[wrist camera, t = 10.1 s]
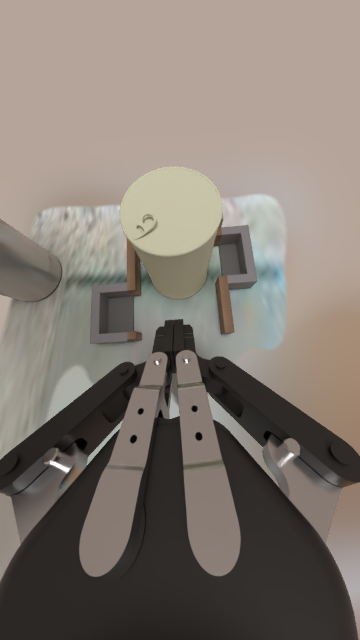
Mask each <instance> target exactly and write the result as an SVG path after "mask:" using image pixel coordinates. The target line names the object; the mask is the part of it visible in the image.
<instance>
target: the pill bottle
mask: <svg viewBox="0 0 360 640" xmlns="http://www.w3.org/2000/svg"><path fill="white" fill-rule="evenodd" d="M20 545H21V544H20V539H19V534H18V529H17V524H16V519H15V514H14V509H13V504H12V499H11V497H10V496H6V495H5V494H2V493H0V581H1V579H2V577H3V575H4V572H5V570H6V568H7V567H8V565H9V563H10V561H11V559H12V557H13V556H14V554H15V553H16V551H17V549H18V548H19V546H20Z"/></svg>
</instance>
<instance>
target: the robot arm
mask: <svg viewBox="0 0 360 640" xmlns="http://www.w3.org/2000/svg"><path fill="white" fill-rule="evenodd" d="M60 278H61V266H60V263H59V261H58V259H57V258H56V257H55V256H54V255H53V254H51V253H50V252H48V251H47V250H45V249H44V248H42V247H41V246H39V245H38V244H36V243H35V242H33V241H32V240H31V239H29V238H28V237H26V236H25V235H23V234H22V233H20V232H19V231H17V230H16V229H14V228H13V227H12V226H10V225H9V224H7V223H6V222H4V221H3V220H1V219H0V294H1V295H4V296H8V297H11V298H15V299H19V300H22V301H28V302H32V301H38V300H41V299H43V298H45V297H47V296H48V295H49V294H51V293H52V292H53V291H54V289H55V288H56V287H57V285H58V283H59V281H60ZM176 371H177V380H178V400H179V413H180V416H178V417H176V418H173V419H169V406H170V398H171V390H172V373H176ZM206 392H209V394H210V396H211V397H212V398H213V399H214V400H215V401H216V402H218V403H219V404H220V405H221V406H222V407H223V408H224V409H225V410H226V411H227V412H228V413H229V414H230V415H231V416H232V417H233V418H234V419H235V420H236V421H237V422H238V423H239V424H240V425H241V426H242V427H243V428H244V429H245V430H246V431H247V432H248V433H249V434H250V435H251V436H252V437H253V438H254V439H255V440H256V441H257V442H258V443H259V444H260V445H261V446H262V447H263V451H262V453H263V458H264V461H265V463H266V465H267V467H268V468H269V470H270V471H271V472H272V473H273V475H274V476H275V478H276V480H277V482H278V485H279V487H278V486H277V485H276V484H275V483H274V482H273V480H272V479H271V478H270V477H269V476H268V475H267V473H266V472H265V471H264V470H263V469H262V468H261V467H260V465H259V464H258V463H257V462H256V461H255V460H254V459H253V458H252V456H251V455H250V454H249V453H248V452H247V451H246V450H245V449H244V447H243V446H242V445H241V444H240V443H239V442H238V440H237V439H236V438H235V437H234V436H233V435H232V434H231V433H230V431H229V430H228V429H226V428H225V427H224V426H223V425H222V424H220V423H219V422H217V421H215V420H213V418H212V414H211V410H210V406H209V402H208V397H207V393H206ZM122 420H123V422H122V425H121V428H120V430H118V431H117V432H116V433H115V434H114V435H113V436H112V437H111V439H110V440H109V441H108V442H107V443H106V444H105V446H104V447H103V448H102V449H101V450H100V451H99V453H98V454H97V455H96V456H95V457H94V458H93V459H92V461H91V462H90V463H89V464H88V465H87V466H86V464H87V458H88V456H89V455H90V454H91V453H92V452H93V451H94V450H95V449H96V447H98V446H99V445H100V443H101V442H102V441H103V440H104V439H105V438H106V437H107V436H108V435H109V434H110V433H111V431H113V429H114V428H115V427H116V426H117V425H118V424H119V423H120V422H121V421H122ZM358 482H360V456H359V455H358V454H357V452H356V451H355V450H354V449H353V448H352V447H351V446H350V445H349V444H348V443H346V442H345V441H344V440H342V439H341V438H340V437H338V436H337V435H335V434H334V433H332V432H331V431H329V430H328V429H327V428H325V427H324V426H322V425H321V424H319V423H318V422H316V421H315V420H314V419H312V418H311V417H309V416H308V415H307V414H305V413H304V412H302V411H301V410H299V409H298V408H296V407H295V406H294V405H292V404H291V403H289V402H288V401H286V400H285V399H284V398H282V397H281V396H279V395H278V394H276V393H275V392H274V391H272V390H271V389H269V388H268V387H266V386H265V385H263V384H262V383H261V382H259V381H258V380H256V379H255V378H253V377H252V376H251V375H249V374H248V373H246V372H245V371H243V370H242V369H241V368H239V367H238V366H236V365H235V364H234V363H232V362H231V361H229V360H228V359H226V358H224V357H214V358H212V359H211V360H206V359H203V358H201V357H199V356H198V355H197V354H196V351H195V344H194V336H193V328H192V327H191V326H190V325H183V319H178V320H166V321H165V326H164V327H159V328H158V329H157V331H156V335H155V340H154V346H153V351H152V354H151V355H150V356H149V357H148V359H147V361H146V362H144V363H141V364H138V365H136V366H134V364H133V363H131V362H124V363H122V364H120V365H118V366H117V367H116V368H114V369H113V370H112V371H111V372H109V373H108V374H107V375H106V376H104V377H103V378H102V379H101V380H99V381H98V382H97V383H95V384H94V385H93V386H92V387H90V388H89V389H88V390H87V391H85V392H84V393H83V394H82V395H81V396H79V397H78V398H77V399H75V400H74V401H73V402H72V403H70V404H69V405H68V406H67V407H65V408H64V409H63V410H62V411H60V412H59V413H58V414H56V415H55V416H54V417H53V418H51V419H50V420H49V421H48V422H46V423H45V424H44V425H43V426H41V427H40V428H39V429H38V430H36V431H35V432H34V433H33V434H31V435H30V436H29V437H28V438H26V439H25V440H24V441H23V442H21V443H20V444H19V445H18V446H16V447H15V448H14V449H12V450H11V451H10V452H9V453H8V454H6V455H5V456H4V457H3V458H2V459H1V460H0V493H2V494H5V495H6V496H10V497H11V499H12V504H13V509H14V514H15V519H16V524H17V529H18V534H19V539H20V544H21V545H20V546H19V548H18V549H17V551H16V553H15V554H14V556H13V557H12V559H11V561H10V563H9V565H8V567H7V568H6V570H5V572H4V575H3V577H2V579H1V581H0V640H358V634H357V628H356V622H355V616H354V611H353V608H352V604H351V600H350V597H349V594H348V591H347V588H346V585H345V582H344V580H343V577H342V575H341V573H340V570H339V568H338V566H337V564H336V562H335V560H334V558H333V556H332V554H331V552H330V551H329V549H328V547H327V546H326V544H325V543H326V540H327V536H328V533H329V530H330V526H331V523H332V519H333V516H334V512H335V509H336V506H337V502H338V499H339V495H340V492H341V489H342V488H343V487H346V486H349V485H352V484H355V483H358Z"/></svg>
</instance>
